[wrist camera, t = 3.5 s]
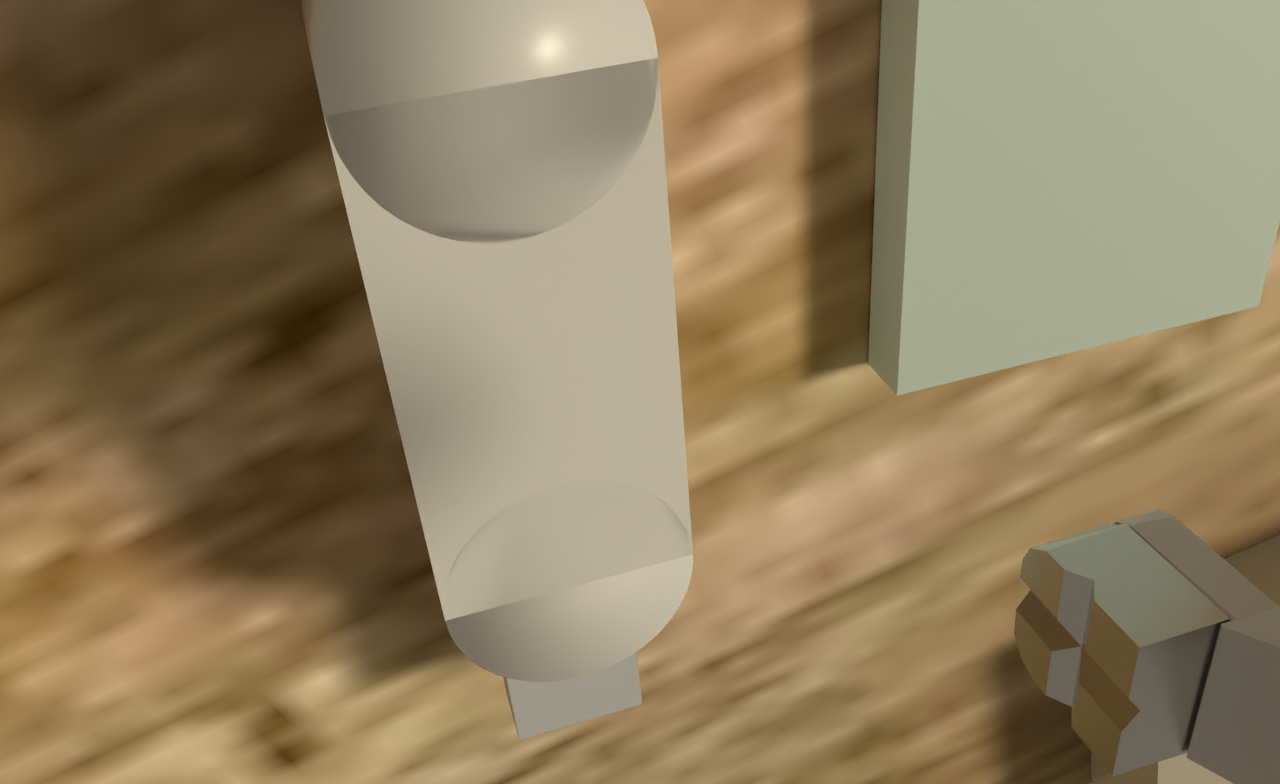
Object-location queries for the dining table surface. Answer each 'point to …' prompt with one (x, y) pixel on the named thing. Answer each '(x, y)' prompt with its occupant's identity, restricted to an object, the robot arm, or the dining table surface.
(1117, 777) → the electrical outlet
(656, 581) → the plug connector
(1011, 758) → the dining table surface
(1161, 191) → the sage board
